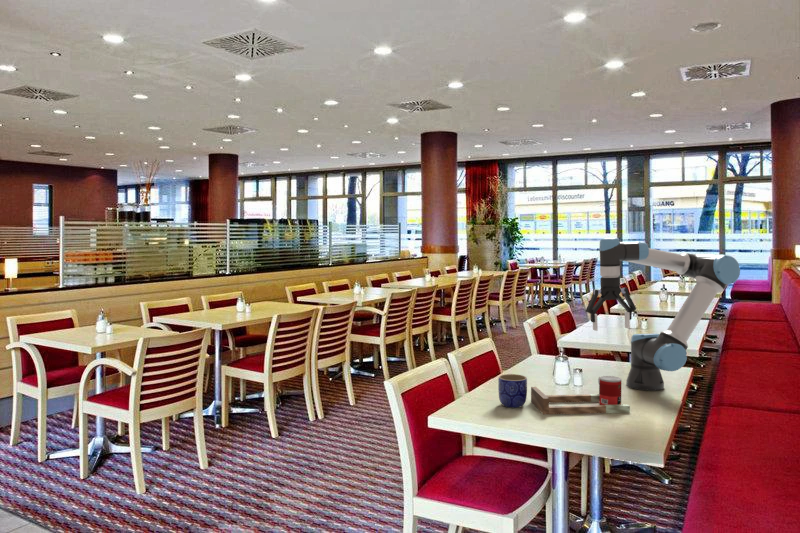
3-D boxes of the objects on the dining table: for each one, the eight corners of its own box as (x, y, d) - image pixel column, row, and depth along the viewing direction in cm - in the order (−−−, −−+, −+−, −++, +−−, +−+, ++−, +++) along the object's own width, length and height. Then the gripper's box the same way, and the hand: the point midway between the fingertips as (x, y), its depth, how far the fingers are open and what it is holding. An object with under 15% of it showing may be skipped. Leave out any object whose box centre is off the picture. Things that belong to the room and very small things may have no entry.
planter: (528, 403, 239) (528, 375, 238) (524, 410, 228) (525, 381, 228) (500, 400, 242) (500, 373, 242) (496, 408, 232) (496, 379, 231)
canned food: (622, 409, 229) (623, 380, 228) (600, 408, 230) (600, 380, 230) (619, 404, 236) (619, 376, 236) (598, 403, 238) (598, 375, 237)
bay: (611, 399, 242) (611, 385, 242) (629, 412, 225) (629, 396, 225) (531, 401, 240) (531, 386, 240) (543, 414, 223) (543, 398, 223)
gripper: (634, 274, 248) (635, 325, 249) (576, 277, 245) (577, 329, 246) (644, 275, 241) (645, 328, 242) (584, 279, 238) (585, 332, 239)
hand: (611, 329), depth 244 cm, fingers open, 13 cm apart
